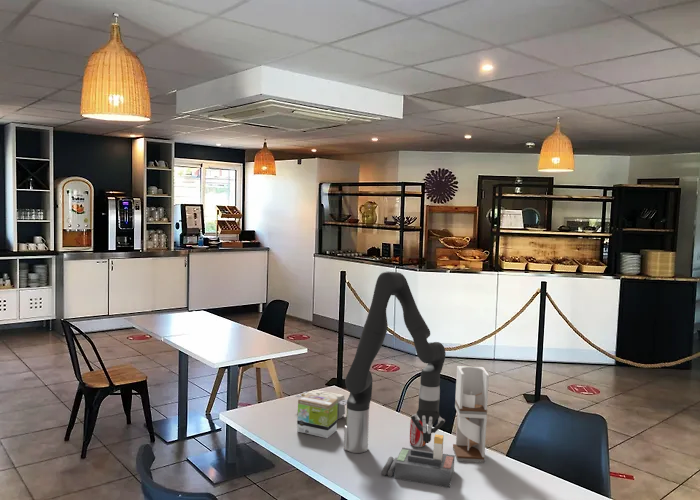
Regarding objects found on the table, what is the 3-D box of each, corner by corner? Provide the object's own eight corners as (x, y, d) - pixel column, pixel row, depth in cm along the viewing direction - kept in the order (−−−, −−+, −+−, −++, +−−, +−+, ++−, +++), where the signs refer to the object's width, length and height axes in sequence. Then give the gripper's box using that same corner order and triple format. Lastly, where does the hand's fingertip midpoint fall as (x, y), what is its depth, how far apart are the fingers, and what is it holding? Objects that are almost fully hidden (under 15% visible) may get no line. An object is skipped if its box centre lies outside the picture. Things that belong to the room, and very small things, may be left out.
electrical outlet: (342, 424, 260) (342, 402, 260) (292, 414, 276) (292, 393, 275) (356, 416, 270) (356, 395, 269) (307, 407, 285) (307, 387, 285)
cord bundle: (380, 476, 212) (381, 470, 212) (389, 460, 226) (389, 455, 226) (392, 477, 211) (392, 472, 211) (399, 462, 225) (399, 457, 225)
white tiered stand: (452, 448, 239) (457, 365, 236) (478, 450, 239) (483, 367, 236) (457, 461, 228) (461, 373, 225) (484, 462, 227) (489, 375, 225)
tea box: (296, 432, 250) (297, 399, 249) (306, 424, 260) (307, 392, 258) (327, 439, 245) (329, 404, 244) (337, 430, 254) (338, 397, 253)
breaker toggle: (433, 461, 212) (434, 437, 211) (434, 457, 215) (435, 434, 215) (441, 462, 211) (442, 438, 211) (442, 459, 215) (443, 435, 214)
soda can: (425, 449, 238) (426, 420, 237) (408, 447, 239) (409, 419, 238) (426, 442, 245) (428, 414, 244) (410, 440, 246) (411, 413, 245)
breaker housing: (394, 478, 211) (395, 458, 211) (401, 462, 224) (402, 443, 224) (449, 487, 206) (450, 467, 205) (453, 470, 219) (454, 451, 218)
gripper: (448, 395, 214) (445, 441, 216) (413, 391, 218) (410, 435, 219) (446, 402, 207) (443, 449, 208) (409, 397, 211) (407, 443, 212)
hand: (426, 442), depth 214 cm, fingers closed
